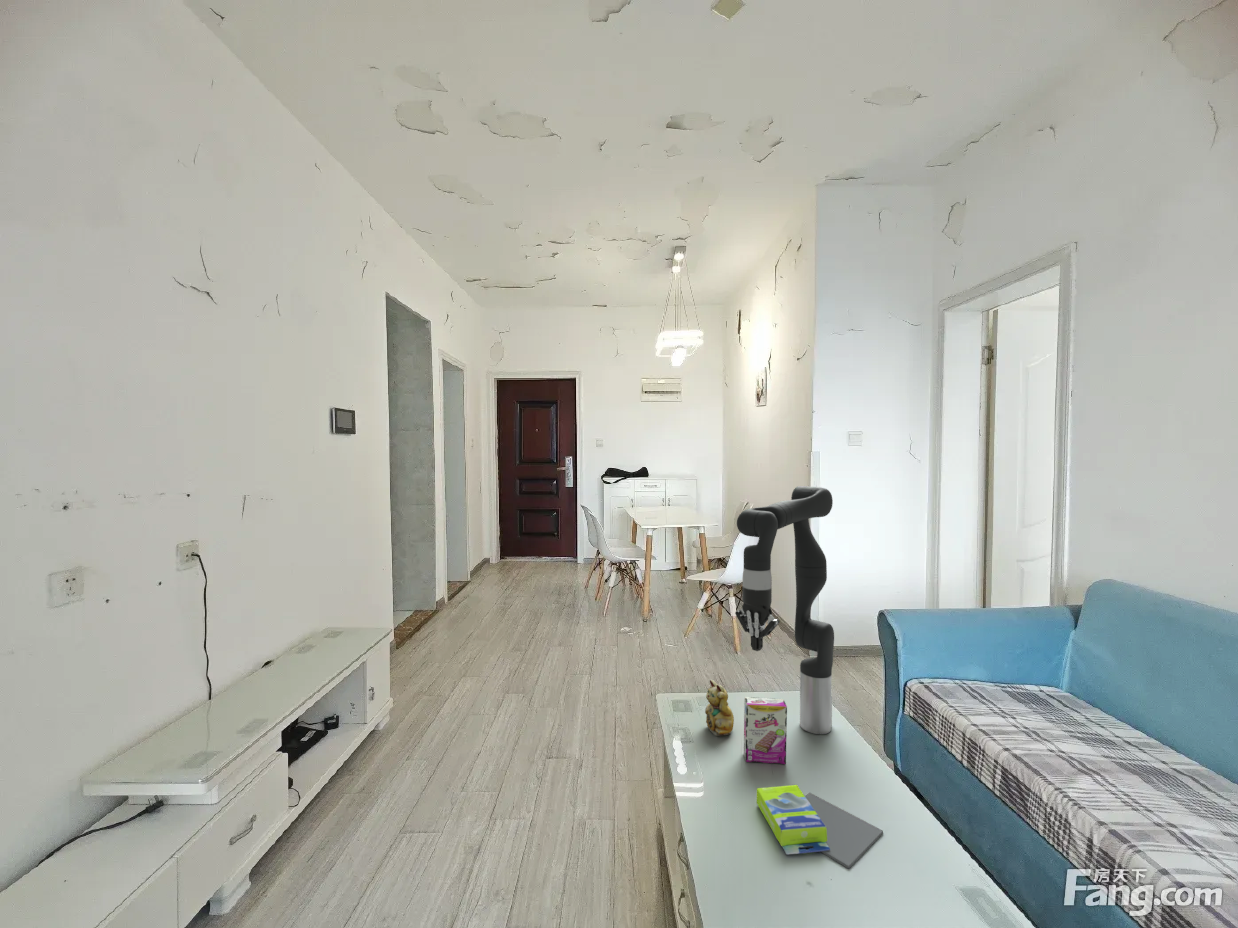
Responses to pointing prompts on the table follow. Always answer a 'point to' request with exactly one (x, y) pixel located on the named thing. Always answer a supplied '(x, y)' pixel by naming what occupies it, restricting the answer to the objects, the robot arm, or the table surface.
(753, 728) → the candy bar box
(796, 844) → the box
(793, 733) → the table surface
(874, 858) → the table surface
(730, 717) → the decorative figurine
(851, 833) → the mat
